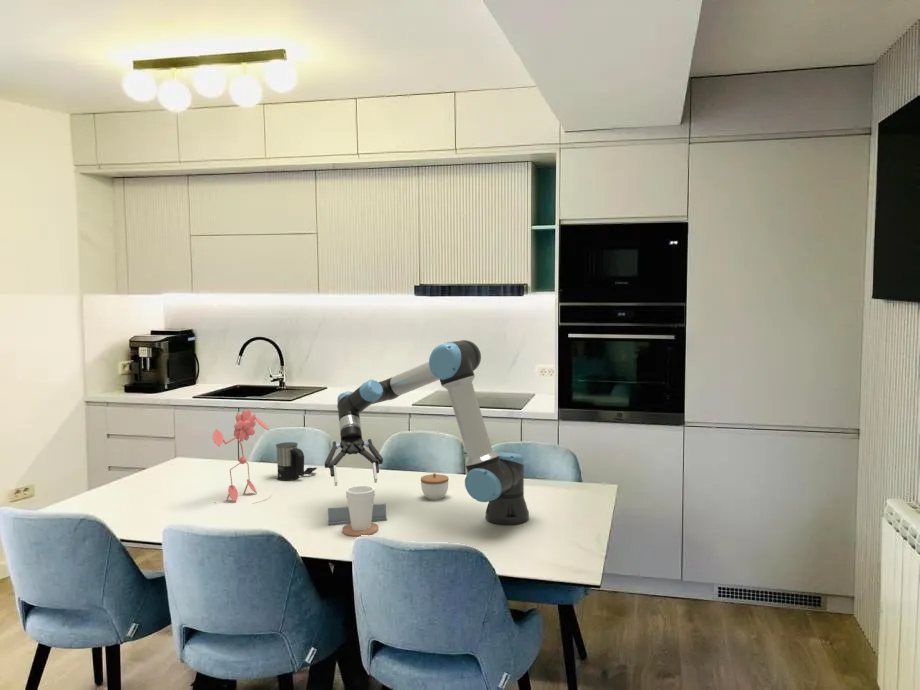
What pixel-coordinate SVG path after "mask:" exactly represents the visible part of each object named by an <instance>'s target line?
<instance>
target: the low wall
mask: <svg viewBox="0 0 920 690" xmlns="http://www.w3.org/2000/svg"><path fill="white" fill-rule="evenodd" d="M327 516H328V517H327V523H328V526H339V525H347V524H350V523H351V520H350V513H349V507H348V505H347V506H336V507H335V506H334V507H327ZM384 521H388V518H387V503H385V502H384V503H383V502H382V503H375V504H374V503H373V511H372V520H371V522H372V523H375V522H384Z"/></svg>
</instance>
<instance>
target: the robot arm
mask: <svg viewBox="0 0 920 690" xmlns="http://www.w3.org/2000/svg"><path fill="white" fill-rule="evenodd" d="M481 353H482V352H481V351H480V348H479V347H478V346H477V345H476V344H475V343H474V342H472V341H471V340H466V339H463V340H462V339H461V340H457V341H448V342H444V343H440V344H438V345H437V346H435V347H434V348H433V349H432V351H431V353H430V355H429V357H428V361H427V362H425V363H423V364H420V365H418V366H416V367H413V368H411V369H409V370H406V371H403V372H402V373H398V374H396V375H395V376H391V377H389V378H387V379H384V380H382V381H377V380H374V379H369V380H367V381H366V382H363V383H362V384H361V385H360V386H359V387H357V389H355V390H353V391H349V390H348V391H345V392H342V393H340V394H338V397H337V403H336V404H337V405H336V406H337V412H338V413H337V414H338V422H339V423H338V425H339V432H340V433H339V434H340V442H336V440H335V441H332V447H331V448H330V451H329V453H328V455H327V457H326V459H325V461H324V468H325V469H327V468H328V469H329V472H330V474H329V475H330V476H331V477H332V478H333V480H334V482H333V483H334V487H337V486H338V475H337V465H338V464H339V463H340V462H341V460H342V459H343V458H344V457H345V456H346V455H348V456H349V455H358V454H359V455H360V456H362V457H364V458H365V459H367V460H368V461H369V462H370V463H371V464H372V473H373V483H374V484H375V483H377V482H378V475H377V474H379V473H380V465H383V463H384V457H382V455H381V454H380V452H379V451H378V450H377V449H376V447H375V446H374V444H373V442H372V439H370V438H368V439H367V440H366V441H364V440H363V436H362V435H363V433H362V430H361V429H362V427H361V418H360V414H361V412H363V411H365V410H366V409H367V408H368V407H370V406H371V405H375V404H379V403H383V402H386V401H391V400H394V399H396V398H398V397H399V396H402V395H404V394H408V393H410V392H412V391H414V390H417V389H419V388H423V387H425V386H428V385H431V384H432V383H435V382H437V381H440V385H441V387H442V388H444V389H446V390H447V392H448V397H449V399H450V402H451V406H452V409H453V412H454V416H455V419H456V423H457V426H458V429H459V433H460V436H461V440H462V442H463V447H464V449H465V452H466V457H467V460H466V463H465V468H466V471H467V473H466V476H465V478H464V487H465V490H466V491H467V493H468V495H469V496H470V497H471V498H472V499H474V500H475V501H477V502H479V503H488V504H487V507H486V510H485V520H486V521H488V522H489V523H492V524H495V525H502V526H505V525H507V526H510V525H511V526H515V525H520V524H524V523H526V522H528V521H529V519H530V512H529V509H528V505H527V503H526V500H525V496H524V494H525V493H524V492H525V490H524V489H525V485H524V484H525V482H524V481H525V479H524V477H525V476H524V475H525V469H524V467H525V463H524V457H523V456H522V455H521V454H519V453H515V452H502V451H501V452H495V451H494V450H493V447H492V444H491V441H490V437H489V435H488V430H487V427H486V424H485V420H484V419H483V414H482V411H481V408H480V404H479V401H478V399H477V394H476V391H475V388H474V385H473V380H474V379H475V377H476V376H475V373H474V371H476V370H477V368H478V367H479V366H480V363H481V360H482V354H481ZM365 447H366V448H368V450H369V451H370V452H369V451H368V450H367V449H366V448H365ZM339 448H341V450H340V451H339V453H338V454H336V456H335V453H336V451H337V450H338V449H339ZM334 456H335V457H334ZM333 458H334V459H333Z"/></svg>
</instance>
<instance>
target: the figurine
mask: <svg viewBox="0 0 920 690" xmlns="http://www.w3.org/2000/svg"><path fill="white" fill-rule="evenodd" d="M235 420H236V423H235V424H234V426H233V427H234V430H233V438H231V439H229V440H228V441H225V440H224V435H223V433H222V432H221V430H218V429H216V428H215V430H214V431H213V433H212V440H213V443H215V444H216V446H218V447H219V448H220V447H221V446H222V443H223V444H225V445H227V444H228V443H230V442H232V441H234V440H235V439H236V440H237V441H238V443H239V445H240V449H241V454H242V456H241V457H240V458H239V459H238V462H239V463H237V464H236V465H234V466H233V467H232V468H230V469H229V476H230V485H229V486H228V494H227V497H226V500H227V501H228V500H229V497H230V499H231V500H232V501H233V502H234V503H236V502H237V500H238V497H239V493H238V490H237V488H236V486H235V485H233V478H232V470H233V469H234V468H236V467H237V466H239V465H240V464H241V465H244V464H247V475H248V478H247V479H246V486H245V489H244V491H243V493H242V494H243V495H245V493H246V491H247V489H248V486H249V488H250V490H251V491H252V492H254V493H255V494H256V495H257V494H258V492H257V489H256V487H255V486H254V483H252V481H251V480H250V467H249V465H250V464H249V463H248V461H247V458H246V457H245V456H244V449H243V448H244V447H243V444H242V442H243V441H248V440H249V438H250V436H253V435H254V434H255V433H256V430H255V429H254V427H255V426H256V424H257V423H258V425H260V426H261V427H262V428H264V429H265V430H267V431H269V430H270V428H269V427H268V426H267V424H265V422H264V421H262V420H261V419H260V418H258V417H256V414H255V413H253V414H252V411H251V409H250V408H248V409H246V410H245V409H244V410H242V411H241V414H240V413H238V414H236V415H235ZM256 422H257V423H256ZM270 497H272V495H270V496H269V498H266V499H263V500H261V501H258V502H256V504H257V503H261V502H264V501H267V500H268V499H270ZM214 504H216V502H214ZM251 504H252V505H253V504H254V502H253V503H251Z"/></svg>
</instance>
